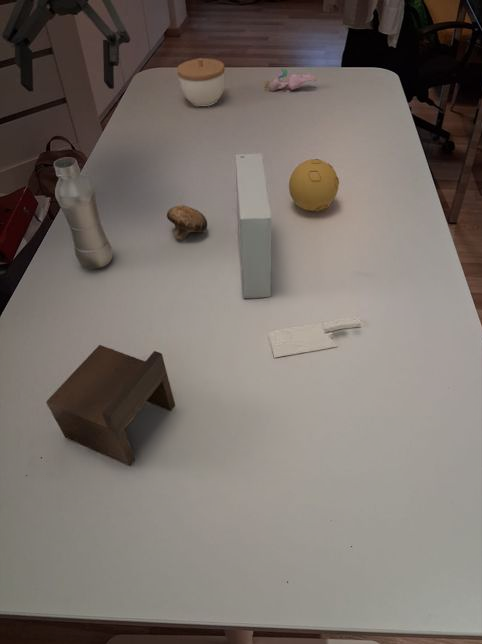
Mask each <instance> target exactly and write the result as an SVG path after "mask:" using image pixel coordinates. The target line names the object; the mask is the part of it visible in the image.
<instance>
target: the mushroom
mask: <svg viewBox="0 0 482 644" xmlns="http://www.w3.org/2000/svg"><path fill="white" fill-rule="evenodd" d="M166 218H167V220H169V222H170V223H172V224H174V228H173V230H172V233H173V235H174V236H175V237H176V238H177V239H178V240H181V241H184V240H185V239H186V238H187V236H188V235H189V234H190V233H193V232H195V233H203V232H206V231H207V229H208V221H207V218H206V216H205V215H204V214H203V213H202V212H201V211H199V210H197V209H195V208H193V207H190V206H187V205H185V204H180V205H175V206H172V207H170V208H169V209H168V211H167V213H166Z"/></svg>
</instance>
